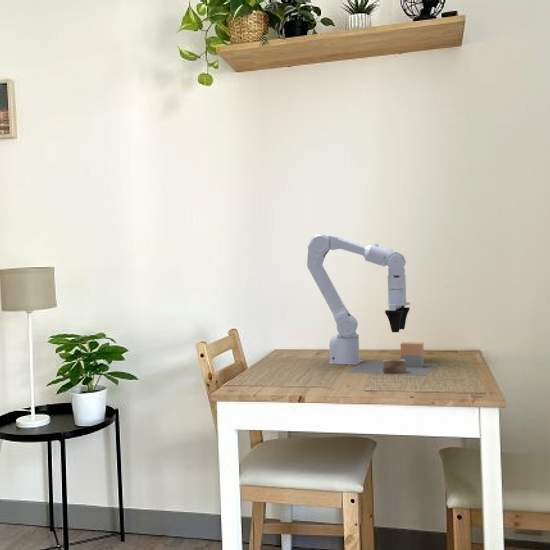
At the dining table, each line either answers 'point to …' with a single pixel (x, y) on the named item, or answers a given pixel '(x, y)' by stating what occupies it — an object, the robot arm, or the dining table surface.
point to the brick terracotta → (412, 349)
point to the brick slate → (413, 360)
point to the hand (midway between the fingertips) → (398, 330)
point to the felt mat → (378, 369)
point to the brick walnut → (394, 366)
